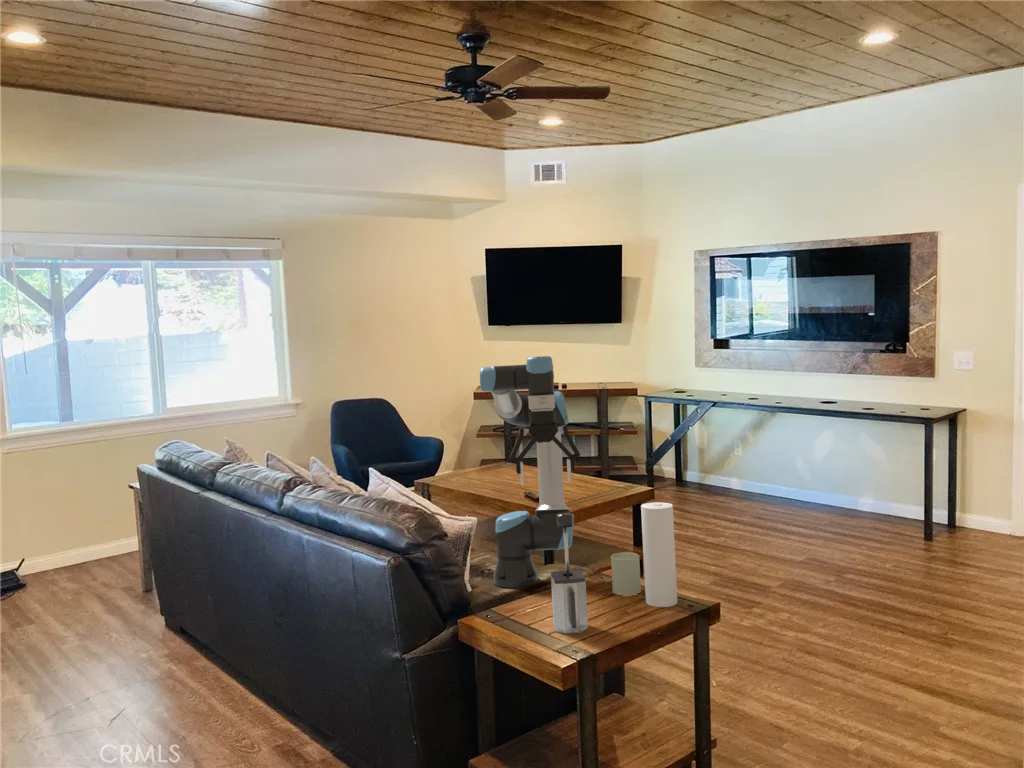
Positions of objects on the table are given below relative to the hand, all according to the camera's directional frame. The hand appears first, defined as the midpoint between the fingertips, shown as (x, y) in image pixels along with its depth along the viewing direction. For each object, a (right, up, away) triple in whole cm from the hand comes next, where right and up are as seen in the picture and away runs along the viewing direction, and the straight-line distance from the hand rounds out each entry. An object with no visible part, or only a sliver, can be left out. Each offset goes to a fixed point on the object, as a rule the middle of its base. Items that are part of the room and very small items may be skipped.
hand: (546, 483), depth 220 cm
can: (+27, -38, +23) cm, 52 cm away
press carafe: (+7, -40, -6) cm, 41 cm away
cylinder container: (+36, -38, +12) cm, 53 cm away
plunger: (+6, -28, -6) cm, 29 cm away
